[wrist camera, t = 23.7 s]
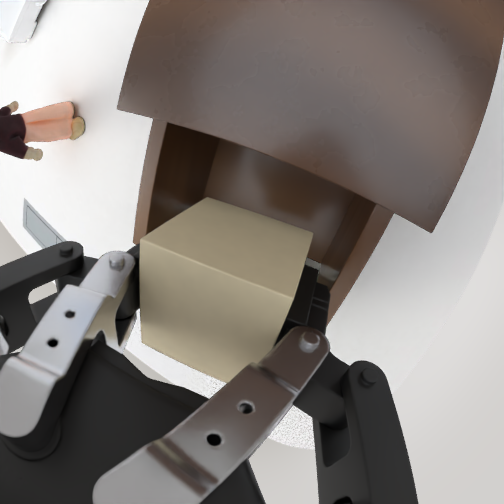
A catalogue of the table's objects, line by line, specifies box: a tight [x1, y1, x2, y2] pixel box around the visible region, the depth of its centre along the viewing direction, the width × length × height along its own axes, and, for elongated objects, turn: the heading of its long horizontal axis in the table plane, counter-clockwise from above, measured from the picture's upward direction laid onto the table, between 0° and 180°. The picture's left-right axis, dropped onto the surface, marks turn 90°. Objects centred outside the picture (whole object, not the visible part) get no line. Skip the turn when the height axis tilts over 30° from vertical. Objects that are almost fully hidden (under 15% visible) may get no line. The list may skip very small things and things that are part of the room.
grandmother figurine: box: [0, 101, 85, 161], centre depth 16 cm, size 8×4×13 cm, turn 49°
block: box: [139, 197, 313, 383], centre depth 10 cm, size 4×4×4 cm
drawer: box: [133, 118, 394, 333], centre depth 16 cm, size 18×12×8 cm
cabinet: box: [117, 0, 504, 233], centre depth 10 cm, size 15×13×10 cm
